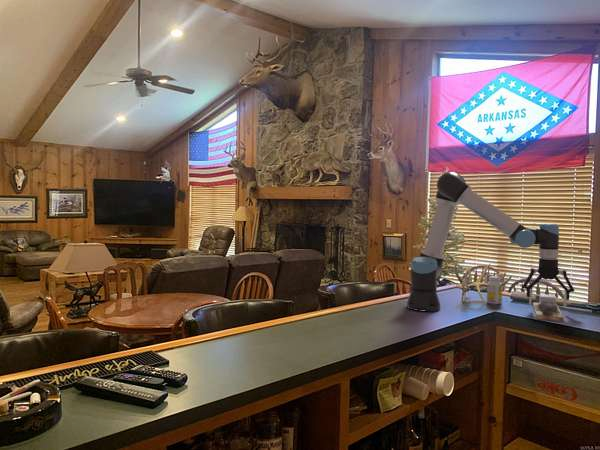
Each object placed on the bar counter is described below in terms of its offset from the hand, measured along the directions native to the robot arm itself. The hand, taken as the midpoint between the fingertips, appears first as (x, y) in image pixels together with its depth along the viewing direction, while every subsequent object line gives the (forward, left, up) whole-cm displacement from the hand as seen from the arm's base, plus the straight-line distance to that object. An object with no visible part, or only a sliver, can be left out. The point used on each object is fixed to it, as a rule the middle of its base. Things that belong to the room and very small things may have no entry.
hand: (547, 305), depth 201 cm
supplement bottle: (-22, +12, -3) cm, 25 cm away
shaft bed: (0, 0, -3) cm, 3 cm away
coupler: (0, 0, -1) cm, 1 cm away
